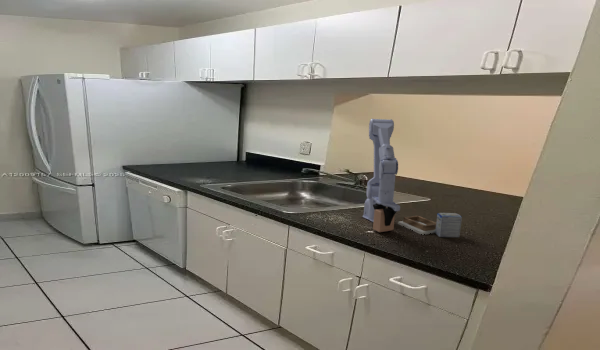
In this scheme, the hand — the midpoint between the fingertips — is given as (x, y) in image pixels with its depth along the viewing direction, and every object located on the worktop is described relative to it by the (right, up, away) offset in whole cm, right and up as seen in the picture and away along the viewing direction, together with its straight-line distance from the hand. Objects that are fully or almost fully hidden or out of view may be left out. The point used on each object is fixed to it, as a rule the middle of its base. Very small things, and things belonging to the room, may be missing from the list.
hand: (383, 223), depth 139 cm
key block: (0, -2, 0) cm, 2 cm away
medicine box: (+24, -5, -2) cm, 25 cm away
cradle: (+17, -3, +7) cm, 18 cm away
